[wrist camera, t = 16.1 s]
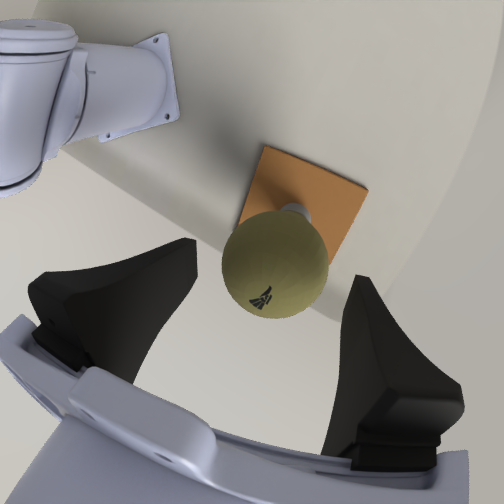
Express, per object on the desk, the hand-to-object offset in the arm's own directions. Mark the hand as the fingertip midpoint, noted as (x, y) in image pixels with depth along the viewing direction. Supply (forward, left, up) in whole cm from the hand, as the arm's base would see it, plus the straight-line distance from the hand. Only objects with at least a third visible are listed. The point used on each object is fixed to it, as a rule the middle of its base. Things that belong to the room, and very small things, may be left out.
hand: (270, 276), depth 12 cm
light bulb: (0, -1, -10) cm, 10 cm away
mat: (0, -1, -10) cm, 10 cm away
